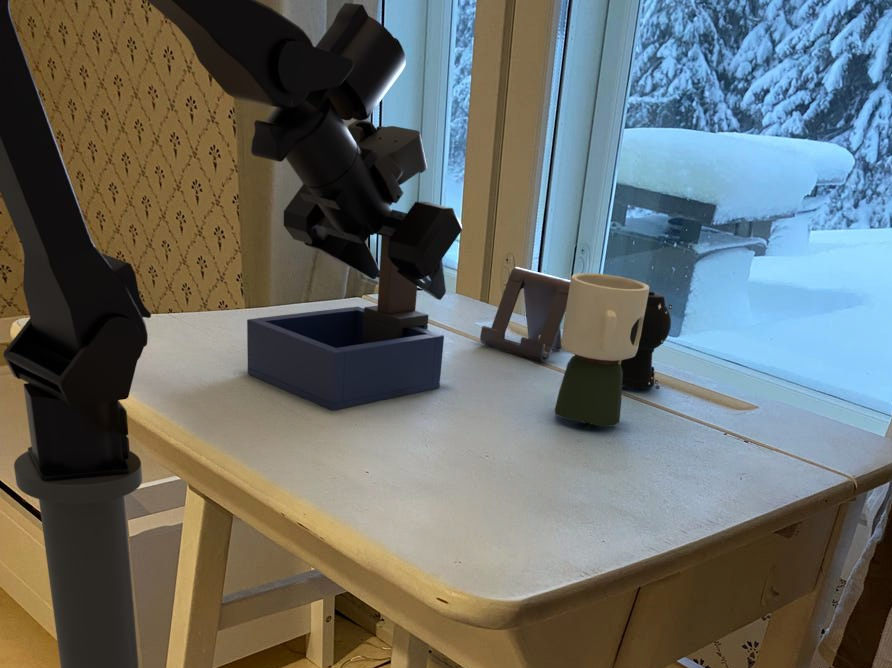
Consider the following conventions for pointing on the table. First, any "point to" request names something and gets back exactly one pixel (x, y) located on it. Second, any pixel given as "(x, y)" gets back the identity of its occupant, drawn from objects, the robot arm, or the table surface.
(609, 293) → the character mug
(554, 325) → the tablet stand
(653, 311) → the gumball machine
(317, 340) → the box
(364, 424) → the table surface
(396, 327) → the tall backed stool
